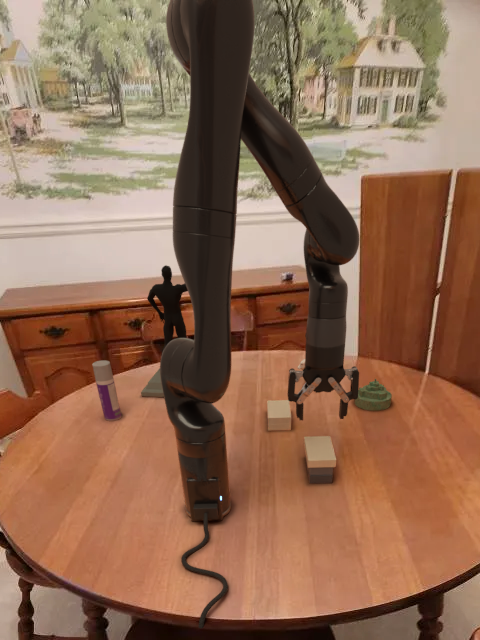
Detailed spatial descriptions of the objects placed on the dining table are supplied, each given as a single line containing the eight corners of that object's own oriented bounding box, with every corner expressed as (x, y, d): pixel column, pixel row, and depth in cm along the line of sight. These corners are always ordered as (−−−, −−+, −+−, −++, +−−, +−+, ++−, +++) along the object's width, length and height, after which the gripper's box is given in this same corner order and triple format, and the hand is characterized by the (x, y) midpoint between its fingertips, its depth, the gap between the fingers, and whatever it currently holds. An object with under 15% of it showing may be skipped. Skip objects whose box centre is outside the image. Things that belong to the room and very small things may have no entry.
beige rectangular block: (335, 467, 104) (336, 459, 103) (307, 467, 104) (308, 460, 103) (329, 442, 113) (330, 435, 112) (303, 443, 113) (304, 436, 112)
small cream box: (291, 430, 127) (291, 417, 125) (268, 430, 127) (267, 417, 125) (288, 412, 136) (289, 399, 134) (267, 412, 136) (267, 400, 134)
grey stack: (332, 483, 107) (333, 467, 104) (309, 483, 107) (310, 467, 104) (326, 458, 115) (327, 442, 113) (305, 458, 116) (305, 443, 113)
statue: (221, 375, 159) (212, 249, 137) (207, 399, 144) (195, 263, 122) (160, 373, 162) (142, 250, 139) (141, 396, 147) (117, 263, 125)
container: (100, 419, 135) (87, 364, 126) (112, 412, 139) (100, 359, 129) (114, 422, 134) (101, 367, 124) (125, 415, 137) (114, 361, 127)
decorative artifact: (368, 413, 134) (397, 406, 137) (371, 388, 129) (401, 381, 133) (347, 400, 141) (376, 393, 144) (350, 376, 136) (379, 370, 140)
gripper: (289, 347, 90) (288, 427, 101) (366, 344, 90) (357, 425, 101) (287, 334, 96) (286, 411, 107) (359, 331, 96) (352, 409, 106)
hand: (321, 418), depth 104 cm, fingers open, 8 cm apart
